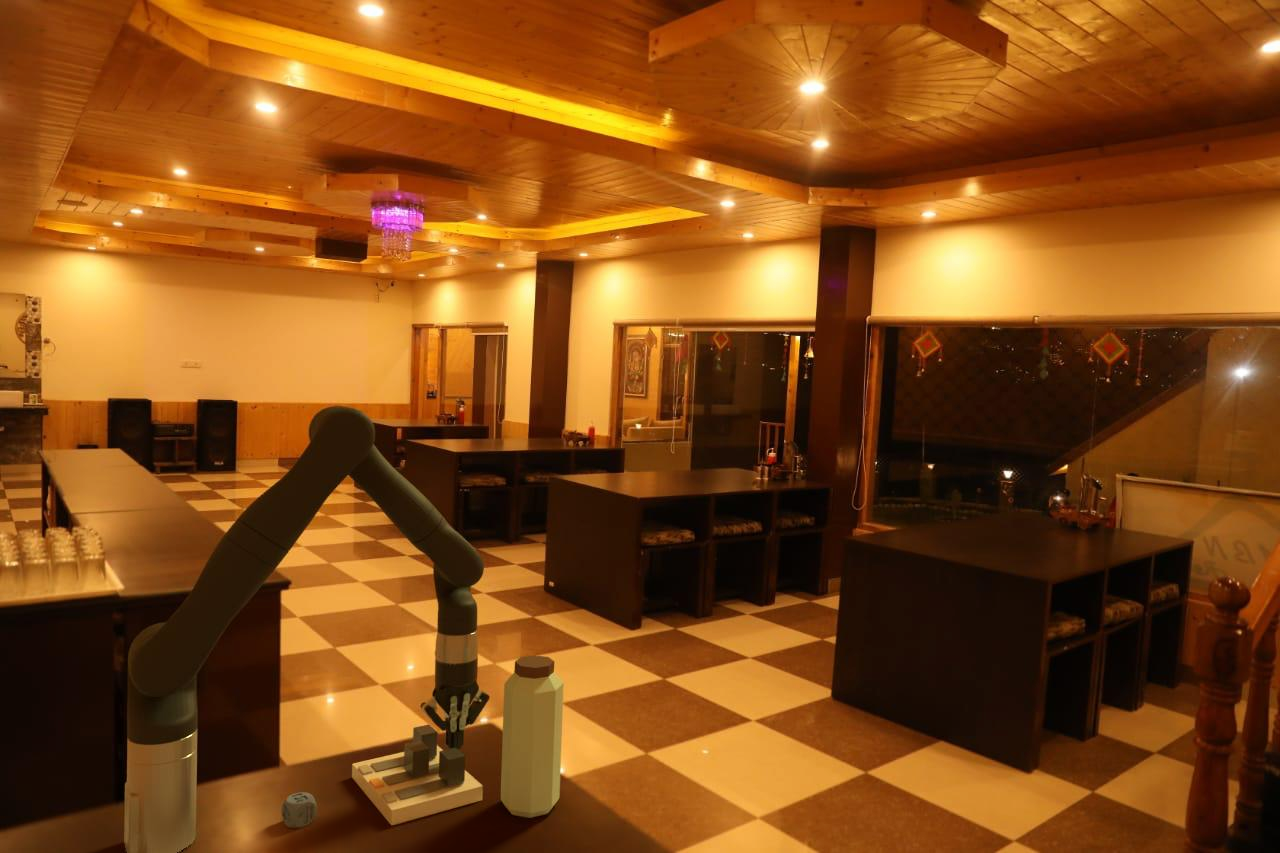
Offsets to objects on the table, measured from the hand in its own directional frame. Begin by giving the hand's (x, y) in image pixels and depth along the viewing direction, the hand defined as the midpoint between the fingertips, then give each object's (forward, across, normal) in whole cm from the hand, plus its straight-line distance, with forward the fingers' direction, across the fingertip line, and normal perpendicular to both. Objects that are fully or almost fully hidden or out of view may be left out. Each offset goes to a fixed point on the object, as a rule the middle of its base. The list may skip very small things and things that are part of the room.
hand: (454, 749), depth 153 cm
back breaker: (+2, -3, +6) cm, 7 cm away
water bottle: (+6, +7, -16) cm, 18 cm away
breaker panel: (+5, -7, 0) cm, 9 cm away
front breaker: (+2, -3, -6) cm, 7 cm away
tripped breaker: (+2, -7, 0) cm, 8 cm away
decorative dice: (+6, -27, -1) cm, 28 cm away
